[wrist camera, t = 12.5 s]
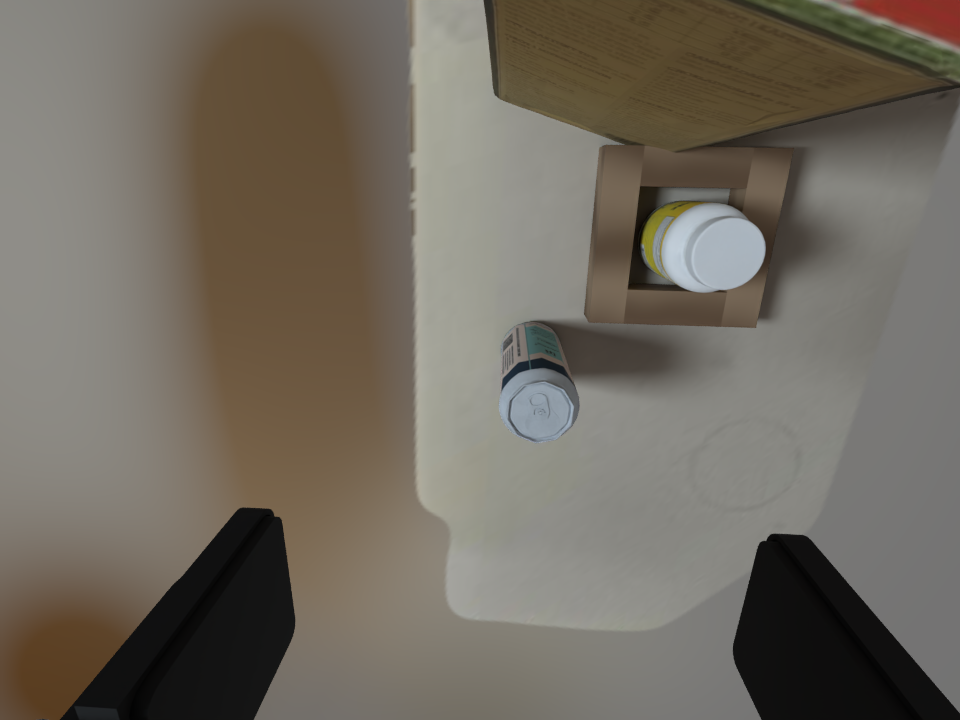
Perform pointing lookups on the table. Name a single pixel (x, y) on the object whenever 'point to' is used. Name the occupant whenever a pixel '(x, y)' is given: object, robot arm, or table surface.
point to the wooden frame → (615, 208)
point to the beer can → (536, 384)
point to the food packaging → (716, 62)
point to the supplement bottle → (701, 245)
